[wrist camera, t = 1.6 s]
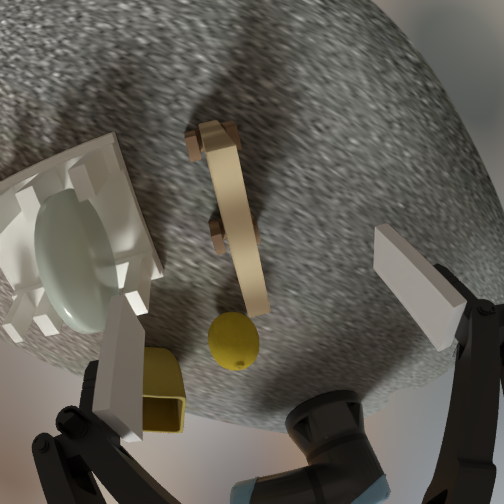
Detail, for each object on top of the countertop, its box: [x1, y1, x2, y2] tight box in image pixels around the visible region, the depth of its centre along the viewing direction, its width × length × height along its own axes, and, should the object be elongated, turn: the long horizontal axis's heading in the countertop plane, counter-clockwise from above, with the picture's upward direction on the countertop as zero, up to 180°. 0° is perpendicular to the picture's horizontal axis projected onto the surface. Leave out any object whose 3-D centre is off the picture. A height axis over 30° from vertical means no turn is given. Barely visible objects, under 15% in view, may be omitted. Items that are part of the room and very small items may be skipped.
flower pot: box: [142, 347, 186, 433], centre depth 35 cm, size 9×9×9 cm
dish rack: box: [0, 131, 164, 343], centre depth 25 cm, size 15×18×7 cm
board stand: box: [185, 121, 261, 255], centre depth 28 cm, size 11×4×3 cm, turn 11°
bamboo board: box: [198, 120, 271, 318], centre depth 24 cm, size 12×2×11 cm, turn 11°
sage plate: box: [34, 188, 119, 334], centre depth 22 cm, size 11×1×11 cm, turn 11°
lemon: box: [208, 312, 259, 370], centre depth 34 cm, size 6×6×8 cm
